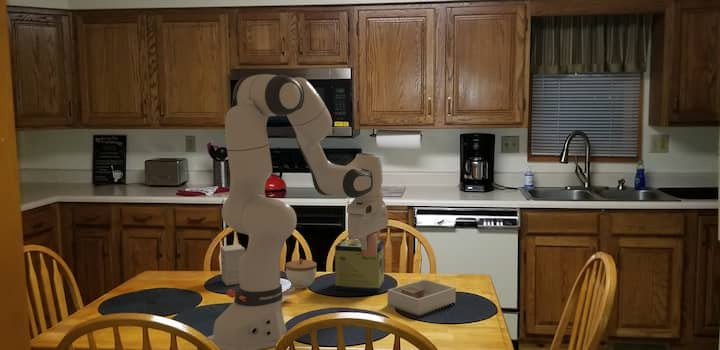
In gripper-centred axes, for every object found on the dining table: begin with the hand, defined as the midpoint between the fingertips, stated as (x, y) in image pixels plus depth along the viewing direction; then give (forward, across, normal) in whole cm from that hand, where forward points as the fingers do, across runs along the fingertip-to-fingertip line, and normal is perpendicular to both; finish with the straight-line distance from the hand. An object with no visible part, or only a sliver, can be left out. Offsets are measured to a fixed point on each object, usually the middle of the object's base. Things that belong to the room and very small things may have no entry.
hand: (369, 246), depth 204 cm
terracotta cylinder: (+3, 0, 0) cm, 3 cm away
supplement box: (+18, +5, -53) cm, 56 cm away
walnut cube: (+17, -1, +15) cm, 23 cm away
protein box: (+18, -11, -10) cm, 24 cm away
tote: (+18, -5, +16) cm, 24 cm away
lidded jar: (+18, -3, -29) cm, 34 cm away
